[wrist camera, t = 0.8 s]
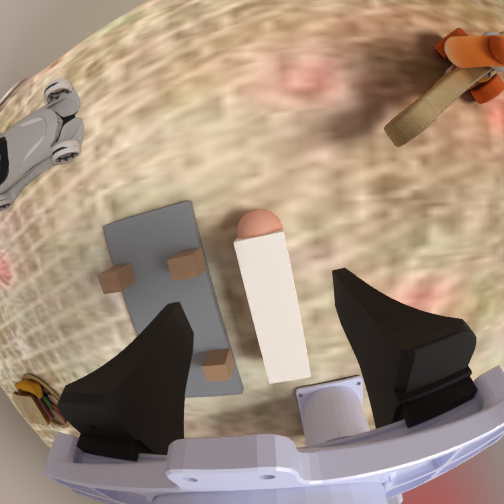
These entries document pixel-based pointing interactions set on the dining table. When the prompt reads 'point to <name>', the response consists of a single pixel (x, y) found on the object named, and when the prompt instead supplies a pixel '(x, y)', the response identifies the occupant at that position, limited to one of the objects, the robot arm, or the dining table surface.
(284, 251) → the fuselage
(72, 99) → the car model
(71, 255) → the dining table surface
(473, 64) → the toy helicopter
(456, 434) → the robot arm
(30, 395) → the toy sandwich meal
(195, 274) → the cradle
